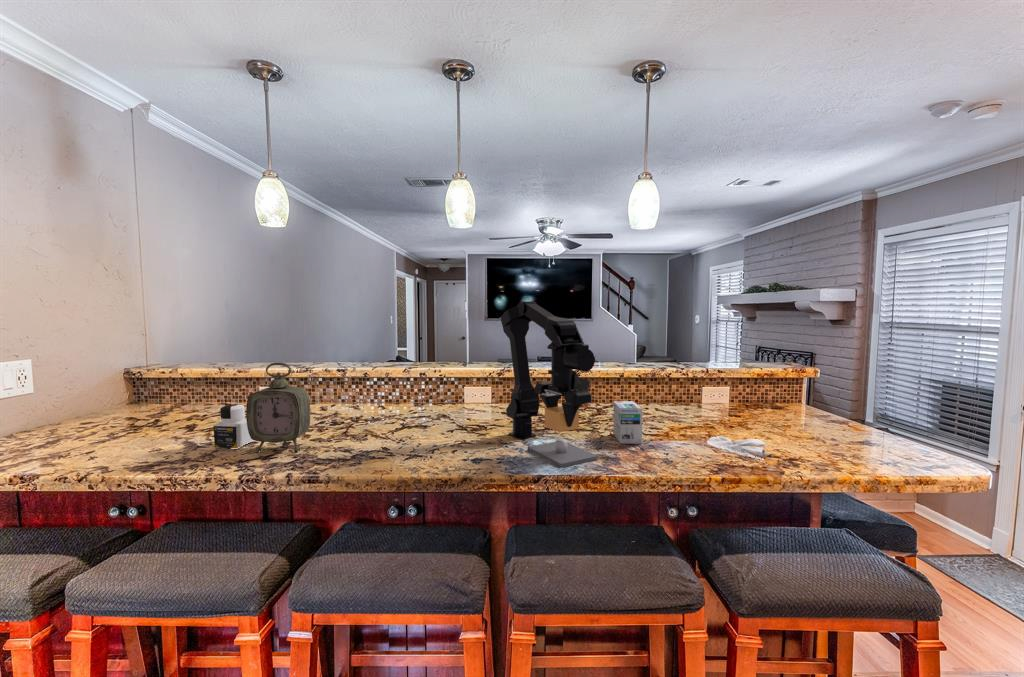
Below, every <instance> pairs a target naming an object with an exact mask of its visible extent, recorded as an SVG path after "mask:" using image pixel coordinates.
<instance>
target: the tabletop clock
mask: <svg viewBox="0 0 1024 677" xmlns="http://www.w3.org/2000/svg"><path fill="white" fill-rule="evenodd" d="M272 366H284V367H286V368H287V369H289V371H288V373H285V374H282V373H281V372H280V371H278V372H277V373H276V374H273V373H270V372H269V371H268V370H269V368H270V367H272ZM265 373H266V374H267V375H268V376H269V377H271V378H274V379H272V380H271V381H270V382H269V384H268V387H266V388H263V389H260V390H258V391H255V392H252V393H250V394H249V395H248V398H247V400H246V405H245V406H246V409H245V419H246V420H247V428H248V432H249V435H250V437H251V439H253V441H256V442H260V443H259V446H256V447H255V448H254V451H255V452H256V453H257V452H259V451H260V452H262V446H263V445H264V443H282V444H281V445H282V447H283V446H287V447H288V446H289V442H290V441H292V442H293V444H294V448H293V451H294V452H295V451H299V452H300V451H301V447H300V445H298V443H297V439H298V438H299V437H301V436H302V435H304V434H305V433H307V432H308V431H309V428H310V424H311V412H312V410H311V402H310V396H309V393H308V391H307V389H306V388H304V387H301V386H295V385H294V386H292V385H290V384H289V382H288V380H287V379H285V377H288V376H289V375H290V374H291V373H292V368H291V367H290V365H289V364H287V363H284V362H272V363H270V364H268V365H267V366H266V368H265ZM260 452H259V453H260Z"/></svg>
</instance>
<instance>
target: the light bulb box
mask: <svg viewBox="0 0 1024 677" xmlns="http://www.w3.org/2000/svg"><path fill="white" fill-rule="evenodd" d="M612 434H613V435H614V437H615V438H616V439H617V441H618V442H619V444H623V445H625V444H634V445H636V444H637V445H638V444H639V445H642V444H643V407H641V406H640V405H639V404H637V403H636V402H635V401H634V400H631V401H629V400H613V433H612Z"/></svg>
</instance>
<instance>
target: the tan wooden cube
mask: <svg viewBox="0 0 1024 677" xmlns="http://www.w3.org/2000/svg"><path fill="white" fill-rule="evenodd" d="M544 427H546V428H548V429H551V430H553V431H556V432H557V433H561V432H567V431H572V430H578V429H579V428H580V410H579V409H578V410H577V412H576V415H575V418H574V420H573V423H572V426H571V427H567V424H566V420H565V416H564V411H563V407H562V405H558V406H557V407H550V408H546V407H545V408H544Z"/></svg>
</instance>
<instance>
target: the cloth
mask: <svg viewBox="0 0 1024 677" xmlns="http://www.w3.org/2000/svg"><path fill="white" fill-rule="evenodd" d="M706 444H708V445H710V446H711V447H714V448H716V449H719V450H721V451H723V450H724V452H727V453H730V454H733V453H735V454H734V455H737V454H738V455H737V456H741V455H742V456H741V457H745V456H747V457H746V458H749V457H751V458H750V459H753V458H755V459H754V460H757V459H760V460H759V461H762V460H763V461H764V458H762V457H763V456H764V457H768V456H769V458H773V457H774V456H773V455H772V454H771V452H766V451H765V448H764V447H767V446H768V445H767V444H766V443H765V442H764V441H762V440H761V439H758V438H747V439H735V440H734V441H733V440H731V439H730V438H728V437H726V436H722V435H719V436H717V435H716V436H711V437H709V439H708V440H707V441H706ZM749 453H750V454H749ZM746 454H748V455H746ZM753 454H754V455H753ZM757 455H759V456H757ZM755 456H756V457H755ZM761 458H762V459H761Z"/></svg>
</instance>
